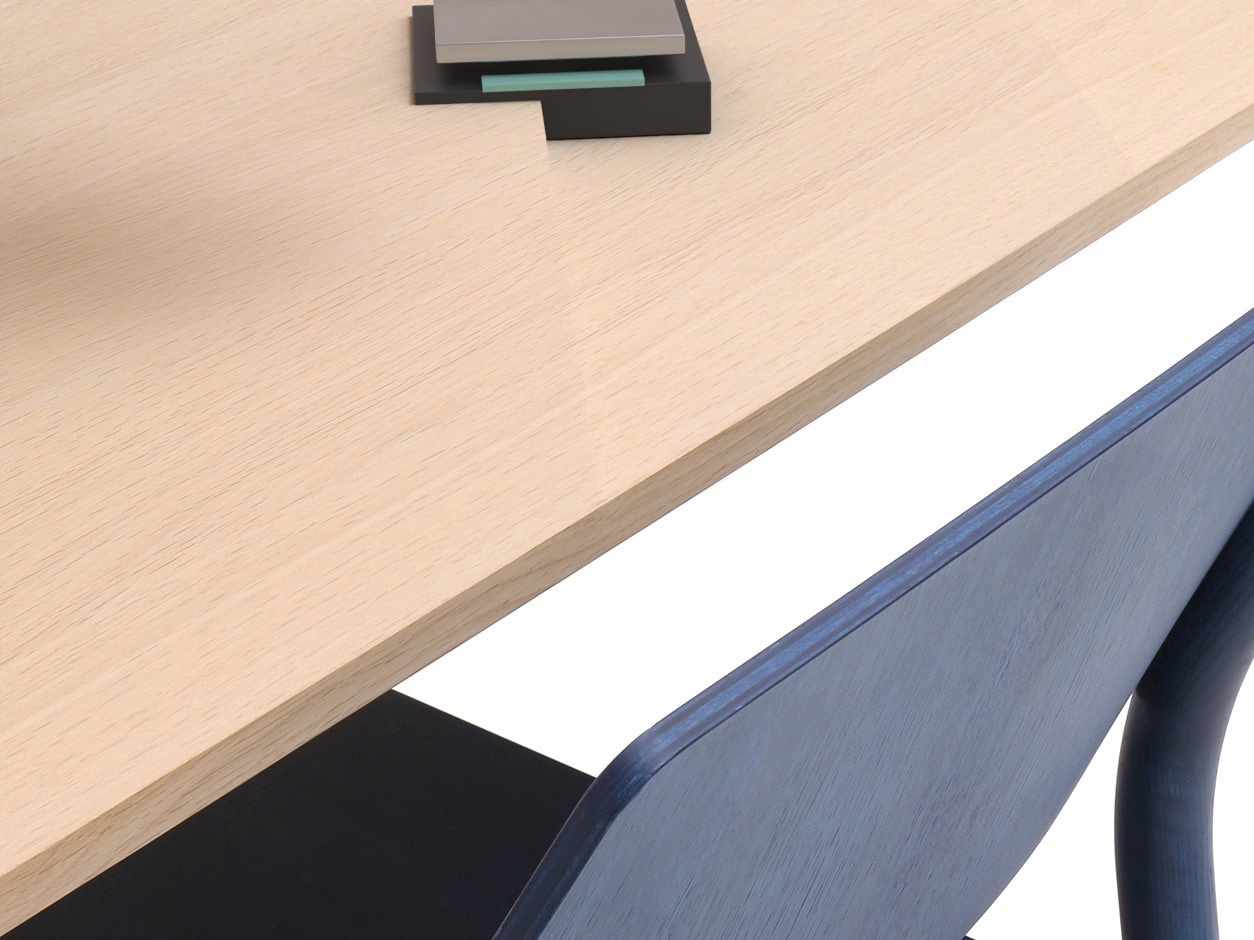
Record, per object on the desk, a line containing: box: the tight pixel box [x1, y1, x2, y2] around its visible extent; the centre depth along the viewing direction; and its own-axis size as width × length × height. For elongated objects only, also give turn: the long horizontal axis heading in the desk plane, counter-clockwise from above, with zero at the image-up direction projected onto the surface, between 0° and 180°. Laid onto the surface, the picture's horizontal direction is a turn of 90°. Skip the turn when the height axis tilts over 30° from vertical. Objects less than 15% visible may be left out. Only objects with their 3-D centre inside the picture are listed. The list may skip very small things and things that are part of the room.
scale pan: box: [432, 0, 685, 64], centre depth 90 cm, size 9×9×1 cm
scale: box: [411, 0, 712, 140], centre depth 91 cm, size 11×10×2 cm
